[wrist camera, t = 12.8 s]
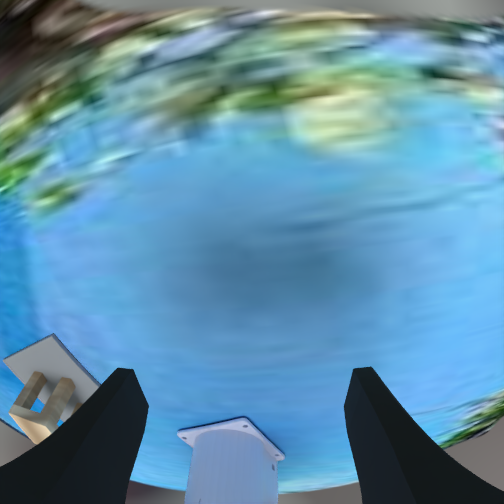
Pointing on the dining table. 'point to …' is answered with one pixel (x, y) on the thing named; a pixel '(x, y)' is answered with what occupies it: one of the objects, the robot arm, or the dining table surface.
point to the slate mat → (53, 371)
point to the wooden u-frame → (47, 420)
